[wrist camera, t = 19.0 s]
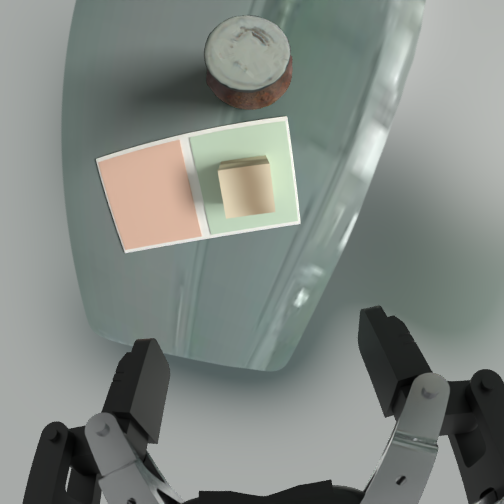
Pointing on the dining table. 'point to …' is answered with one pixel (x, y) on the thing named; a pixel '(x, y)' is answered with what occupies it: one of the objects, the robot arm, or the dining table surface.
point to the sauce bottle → (248, 62)
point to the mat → (195, 184)
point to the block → (246, 186)
